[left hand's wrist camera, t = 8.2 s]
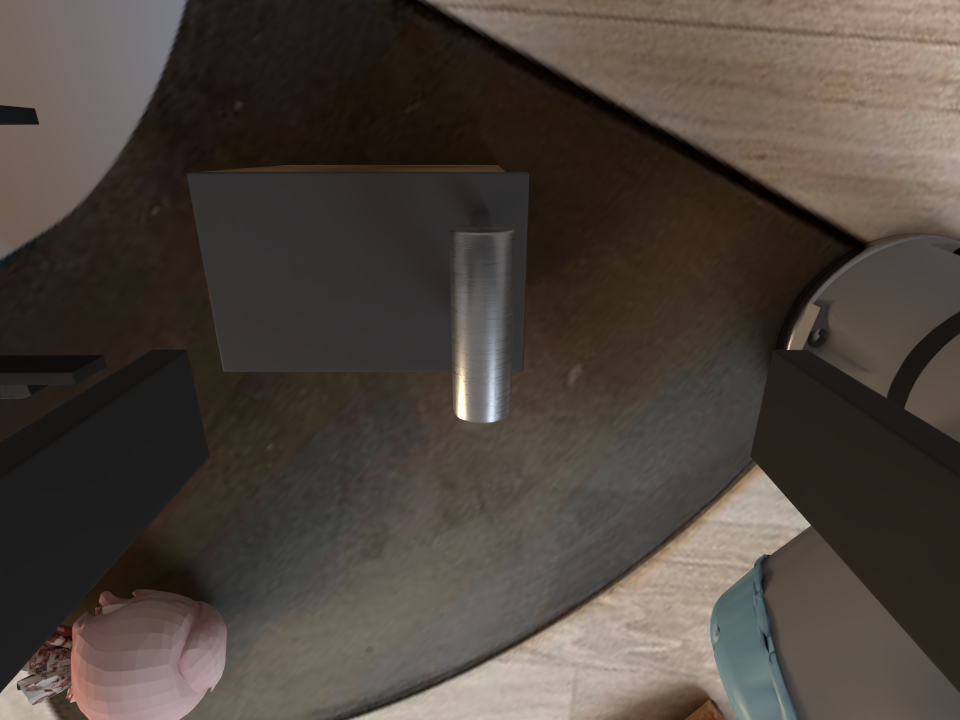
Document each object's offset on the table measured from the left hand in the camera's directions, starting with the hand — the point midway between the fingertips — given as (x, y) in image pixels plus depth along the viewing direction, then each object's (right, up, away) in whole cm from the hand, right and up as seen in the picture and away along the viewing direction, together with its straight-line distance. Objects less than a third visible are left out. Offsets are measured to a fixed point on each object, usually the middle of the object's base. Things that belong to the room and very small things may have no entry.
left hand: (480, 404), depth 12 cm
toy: (-28, -22, +35) cm, 50 cm away
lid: (-5, +5, +13) cm, 15 cm away
